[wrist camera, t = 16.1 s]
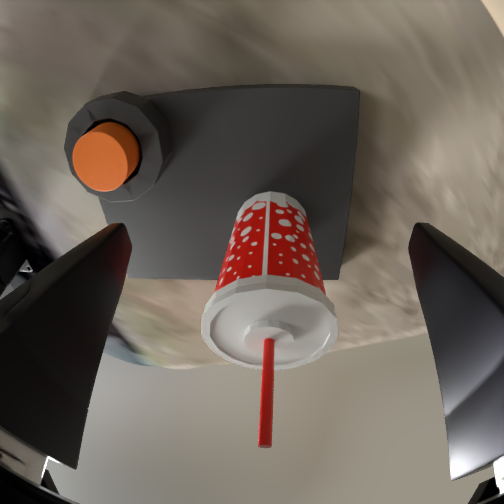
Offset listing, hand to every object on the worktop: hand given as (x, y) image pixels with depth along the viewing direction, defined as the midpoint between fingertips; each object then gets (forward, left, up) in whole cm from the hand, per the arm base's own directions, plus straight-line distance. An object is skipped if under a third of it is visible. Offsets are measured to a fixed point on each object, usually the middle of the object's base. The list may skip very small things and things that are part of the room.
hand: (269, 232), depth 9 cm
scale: (-4, -4, -11) cm, 12 cm away
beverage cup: (0, -6, -10) cm, 12 cm away
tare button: (-9, 0, -8) cm, 12 cm away
